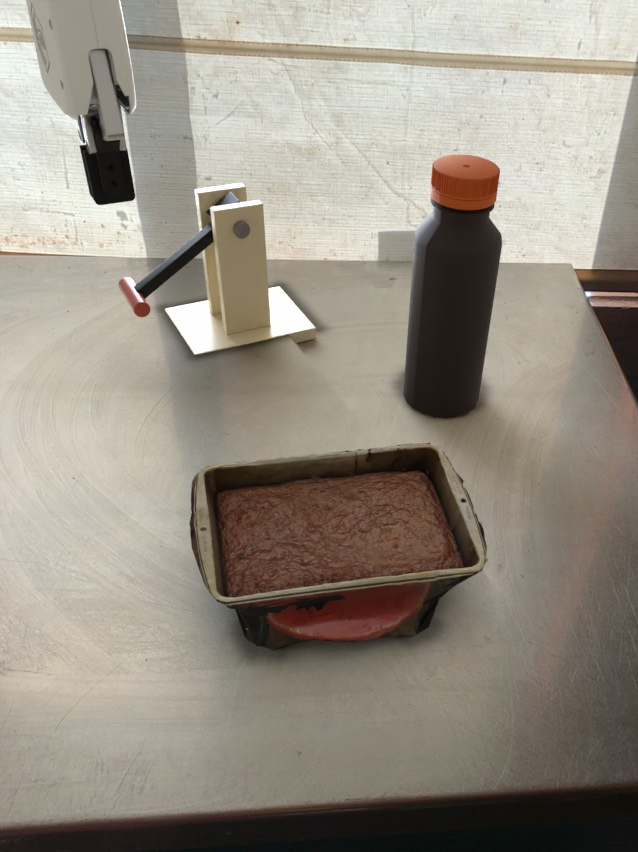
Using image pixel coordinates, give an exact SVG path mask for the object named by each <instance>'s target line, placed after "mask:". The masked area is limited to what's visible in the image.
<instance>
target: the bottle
mask: <svg viewBox="0 0 638 852" xmlns="http://www.w3.org/2000/svg"><path fill="white" fill-rule="evenodd" d="M500 176H501V169H500V167H499V166H498V165H497V164H496V163H495V162H493V161H492V160H490V159H487V158H484V157H481V156H476V155H472V154H449V155H443V156H441V157H438V158H437V159H435V160H434V161H433V162H432V166H431V178H430V192H429V196H430V202H429V203H430V204H431V206H432V207H433V208H432V209H433V211H432V212H431V213H429V215H428V216H427V217H425V218H424V219H423V220H422V221H421V222H419V224H418V225H417V226H416V228H415V230H414V239H413V254H412V264H411V265H412V266H411V270H412V271H411V282H410V295H409V310H408V322H407V337H406V338H407V339H406V350H405V363H404V364H405V365H404V366H405V367H404V379H403V390H402V392H403V393H402V394H403V397H404V400H405V402H406V404H408V406H410V407H411V408H412V410H414V411H416V412H418V413H420V414H421V415H424V416H428V417H431V418H437V419H452V418H453V419H454V418H458V417H461V416H464V415H467V414H468V413H470V412H471V411H472V410H474V409H475V407H476V405H477V404H478V402H479V398H480V392H481V386H482V379H483V374H484V373H483V372H484V364H485V360H486V353H487V347H488V342H489V341H488V340H489V334H490V328H491V327H490V326H491V320H492V314H493V306H494V301H495V295H496V289H497V281H498V274H499V268H500V263H501V262H500V261H501V254H502V248H503V236H502V233H501V231H500V230H499V229H498V228H497V226H496V225H495V224H494V222H493V221H492V219H491V218H490V215H491V212H492V211H493V210H494V209H495V205H496V204H495V203H496V202H497V196H498V189H499V183H500V182H499V181H500Z"/></svg>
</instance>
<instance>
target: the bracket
mask: <svg viewBox="0 0 638 852" xmlns="http://www.w3.org/2000/svg"><path fill="white" fill-rule="evenodd" d="M193 190H194V198H195V206H196V214H197V223H198V232H200V231H201V230H202V229H203V228H205V227H206V226H207V225H208V224H209V223H211V222H212V230H213V239H214V242H213V243H212V244H210V245H209V246H208V247H207V248H206V249H204V250H203V251H202V252H201V254H202V255H201V256H202V263H203V272H204V281H205V286H206V287H205V288H206V296H207V300H202V301H197V302H193V303H186V304H182V305H177V306H172V307H166V308H164V311H165V313H166V315H167V316H168V317H169V319H170V320H171V322H172V323H173V325H174V326H175V328H176V329H177V332H178V333H179V335H181V337H182V339H183V340H184V342H185V343H186V345H187V346H188V348H189V350H190V351H191V352H192V354H193V355H194V356H200V355H204V354H209V353H214V352H218V351H223V350H227V349H231V348H235V347H240V346H246V345H249V344H253V343H258V342H262V341H263V342H264V341H268V340H272V339H276V338H282V337H286V336H288V337H290V339H291V340H292V341H293V342H294V343H295V344H299V343H302V342H307V341H311V340H316V339H317V327H316V326H315V325H314V324H313V323H312V322H311V320H310V319H309V318H308V317H307V316H306V314H304V313H303V311H302V310H301V309H300V308H299V307H298V306H297V305H296V304H295V302H294V301H293V300H292V299H291V297H289V295H288V294H287V293H286V291H284V289H282V288H281V286H274V287H269V275H268V259H267V243H266V229H265V214H264V213H265V212H264V203H263V202H262V201H261V200H260V199H255V200H254V199H253V200H249V201H248V194H247V186H246V185H245V184H244V183H243V182H236V183H230V184H222V185H215V186H207V187H201V188H199V187H198V188H195V189H193ZM229 192H232V194H233V195H234V196H235V197H236V198H237V199H238V200H239V201H240V203H233V204H227V205H220V206H214V205H215V204H216V203H217V202H218V201H220V200H221V199H222V198H223V197H224V196H226V195H227V194H228V193H229ZM212 206H213V207H212ZM209 209H210V212H211V218H210V217H209V215H208V214H207V213H206V211H208V210H209Z"/></svg>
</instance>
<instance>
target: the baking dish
mask: <svg viewBox="0 0 638 852" xmlns="http://www.w3.org/2000/svg"><path fill="white" fill-rule="evenodd" d="M464 482H465V480H464V479H463V477H461V475H460V474H458V472H457V471H456V470H455V468H454V467H453V463H452V462H451V461H450V459H449V457H448V455H446V453H445V451H444V450H443V449H442V448H441V447H439V446H438V445H437V444H433V443H432V442H418V443H411V442H410V443H401V444H397V445H392V446H391V445H390V446H382V447H371V448H366V449H365V448H364V449H362V448H361V449H360V448H359V449H355V450H343V451H342V450H341V451H333V452H325V453H318V454H317V453H316V454H308V455H307V454H306V455H296V456H287V457H277V458H268V459H267V458H266V459H260V460H247V461H238V462H224V463H223V462H222V463H216V464H213V465H212V464H211V465H207V466H205V467H203V468H202V469H200V470H199V471H198V472H197V473H196V474H195V475H194V477H193V479H192V480H191V491H190V511H191V513H190V519H189V530H190V531H189V534H190V543H191V550H192V553H193V556H194V559H195V561H196V564H197V567H198V570H199V572H200V575H201V578H202V582H203V584H204V587H205V588H206V590H207V592H208V593H209V594H210V595H211V596H212V597H213V599H214V600H215V601H216V602H217V603H220V604H222V605H225V606H226V608H228V609H231V610H235V612H236V616H237V619H238V622H239V624H240V627H241V630H242V634H243V636H244V637H245V639H246V640H247V641H248V642H250V643H252V644H254V645H255V646H256V647H264V648H266V649H269V650H270V651H275V650H276V649H279V648H283V647H287V646H291V645H295V644H297V643H302V642H306V641H309V640H312V639H319V640H321V641H322V642H344V643H353V644H356V643H359V642H364V641H369V640H376V639H385V638H393V637H401V636H405V637H406V636H408V637H415V636H417V635H419V634H421V633H422V632H424V631H425V630H426V629H428V628H429V627H430V624H431V622H432V620H433V617H434V614H435V612H436V610H437V607H438V605H439V602H440V599H441V598H443V597H444V596H445V595H446V594H447V593H448V592H450V590H451V589H452V588H454V587H456V586H457V585H459V584H461V583H463V582H465V581H466V580H468V579H470V578H472V577H474V576H475V575H477V574H479V573H481V572H482V571H483V569H484V567H485V566H486V563H487V551H488V545H487V541H486V535H485V529H484V527H483V525H482V523H481V522H480V521H479V517H478V514H477V513H476V512H475V509H474V505H473V502H472V499H471V497H470V494H469V492H468V489H466V488H465V485H464Z"/></svg>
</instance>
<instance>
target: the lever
mask: <svg viewBox="0 0 638 852" xmlns="http://www.w3.org/2000/svg"><path fill="white" fill-rule="evenodd" d="M233 203H240V201H239V200H238V199H237V198H236V197H235V196H234V195H233V194H232V192H229V193H228V194H227V195H226V196H224V197H223V198H222V199H221V200H220V201H218V202H217V203H216V204H215V205H214V206H220V205H227V204H233ZM212 207H213V206H212ZM206 213H207V214H208V215H209V217H210V218H211V212H210V209H209V210H208V211H206ZM213 242H214V239H213V230H212V222H211V223H209V224H208V225H207V226H206V227H205V228H203V229H202V230H201V231H198V232H197V233H196V234H195V235H194V236H192V237H191V238H190V239H188V240H187V241H186V242H185V243H184V244H183V245H182V246H181V247H179V248H178V249H176V250H175V251H174V252H173V253H172V254H170V256H168V257H167V258H166V259H165V260H164V261H162V262H161V263H160V264H159V265H157V266H156V267H155V268H154V269H153V270H152V271H150V272H149V273H148V274H147V275H146V276H145V277H143V278H142V279H141V280H140V281H139V282H137V283H136V282H135V280H134V279H133V278H131V277H129V276H125V277H122V278H120V279H119V281H118V288H119V290H120V292H121V293H122V295H123V297H124V299H125V300H126V302H127V303H128V306H130V308H131V310H132V311H133V313H134V315H135V316H136V317H138V318H146V317H148V316H149V315H150V313H151V306H150V304H149V302H148V301H147V298H148V297H149V296H150V295H152V294H153V293H154V292H155V291H156V290H158V289H159V288H160V287H161V286H163V284H165V283H167V281H168V280H169V279H171V278H172V277H173V276H175V275H176V274H177V273H178V272H179V271H180V270H181V269H183V268H184V267H185V266H186V265H188V264H189V263H190V262H191V261H193V260H194V259H195V258H197V256H198V255H200V254H202V251H203V250H204V249H206V248H207V247H208V246H209V245H210V244H212V243H213Z"/></svg>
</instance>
